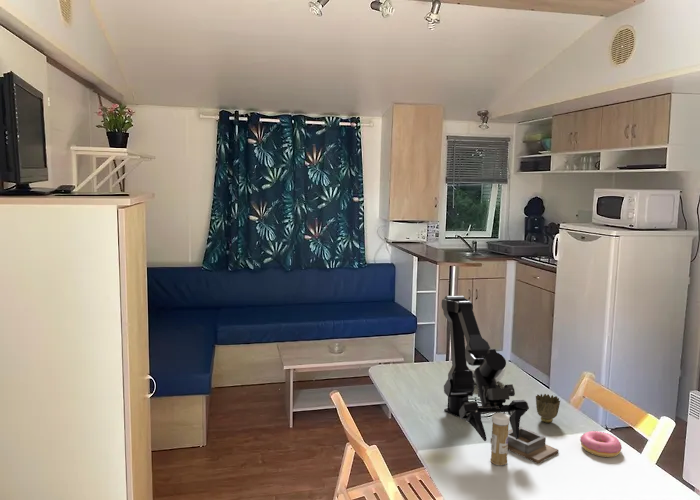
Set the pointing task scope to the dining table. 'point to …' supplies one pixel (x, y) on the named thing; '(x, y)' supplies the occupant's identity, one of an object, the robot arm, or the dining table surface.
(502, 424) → the sprinkles bottle
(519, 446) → the socket board
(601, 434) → the doughnut
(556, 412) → the cup
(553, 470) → the dining table surface
